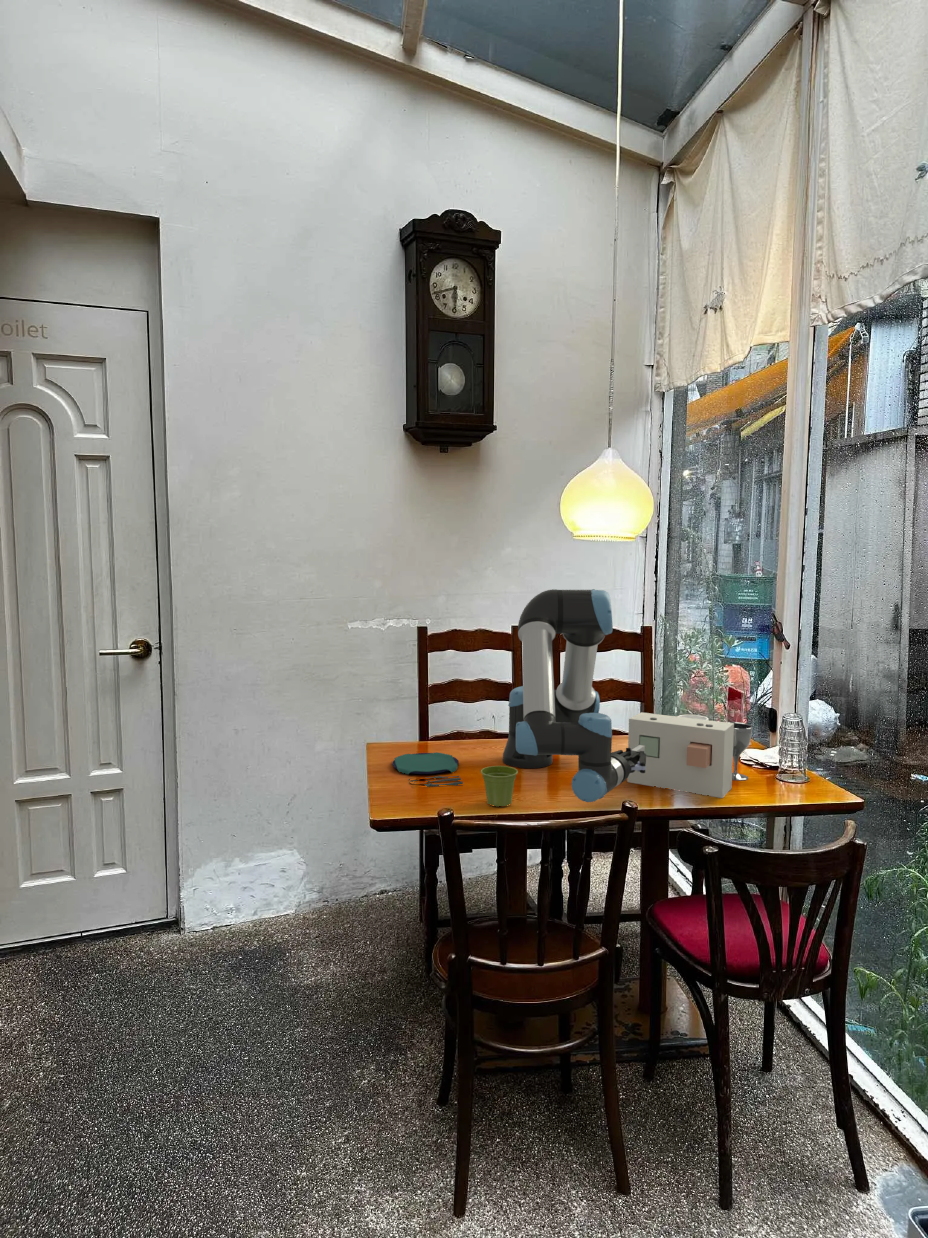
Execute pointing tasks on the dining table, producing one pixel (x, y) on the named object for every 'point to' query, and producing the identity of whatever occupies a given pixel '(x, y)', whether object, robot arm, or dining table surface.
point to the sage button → (651, 745)
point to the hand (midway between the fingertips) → (641, 750)
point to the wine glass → (740, 745)
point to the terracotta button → (699, 754)
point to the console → (684, 753)
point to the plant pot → (499, 784)
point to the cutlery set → (428, 765)
